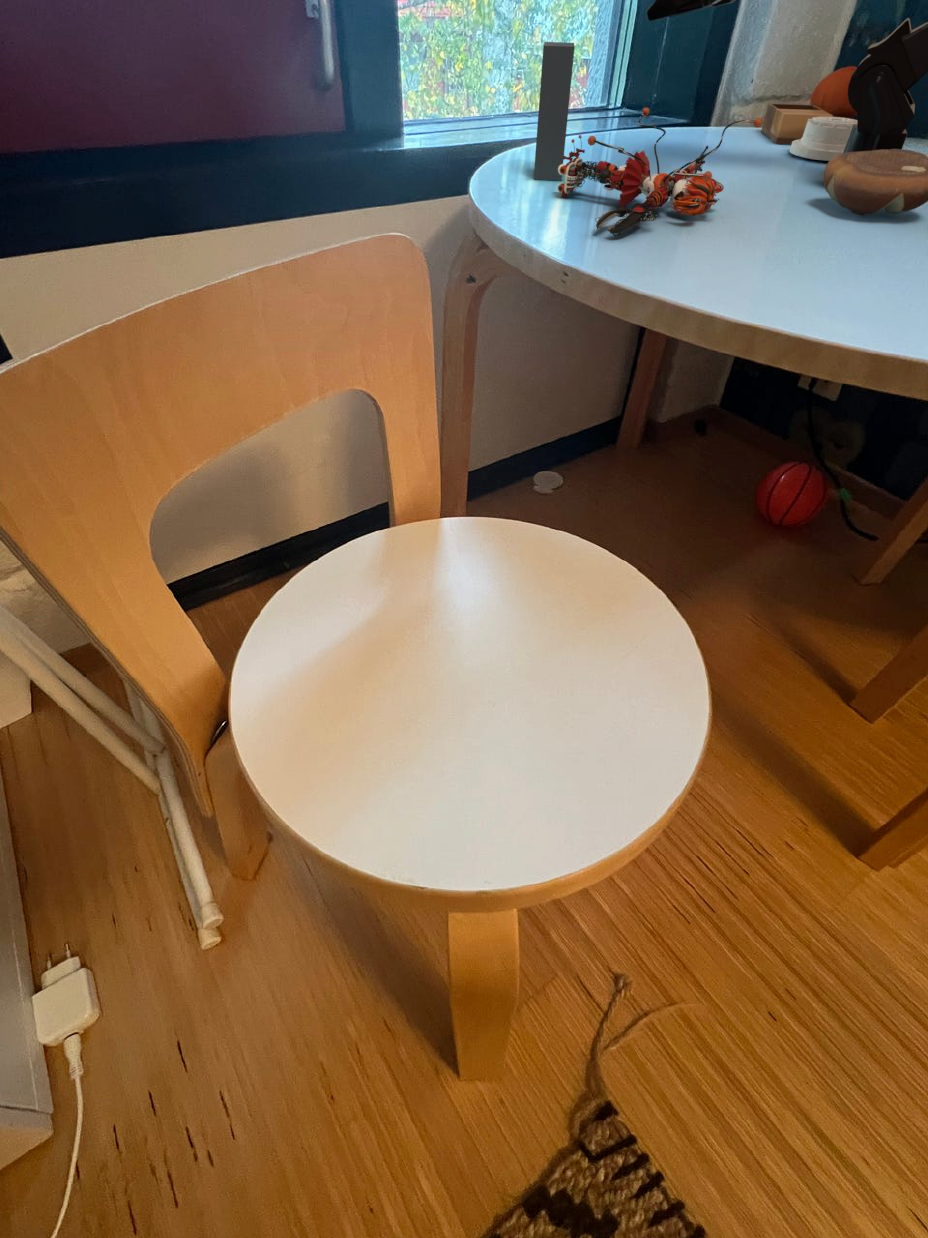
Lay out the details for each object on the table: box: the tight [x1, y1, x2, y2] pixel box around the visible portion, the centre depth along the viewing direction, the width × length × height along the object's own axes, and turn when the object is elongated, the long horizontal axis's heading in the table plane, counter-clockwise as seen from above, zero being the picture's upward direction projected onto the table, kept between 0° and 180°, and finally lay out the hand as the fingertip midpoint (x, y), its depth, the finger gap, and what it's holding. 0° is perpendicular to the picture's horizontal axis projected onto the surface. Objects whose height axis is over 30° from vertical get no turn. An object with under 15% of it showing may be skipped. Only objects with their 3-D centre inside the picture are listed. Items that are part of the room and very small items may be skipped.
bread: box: [822, 148, 928, 216], centre depth 76 cm, size 11×11×5 cm
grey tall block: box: [533, 41, 575, 182], centre depth 84 cm, size 4×5×13 cm
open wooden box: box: [760, 102, 833, 145], centre depth 109 cm, size 11×7×4 cm
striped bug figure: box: [557, 107, 763, 237], centre depth 74 cm, size 25×9×20 cm
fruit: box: [809, 65, 858, 119], centre depth 118 cm, size 9×9×8 cm
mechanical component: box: [789, 117, 857, 162], centre depth 98 cm, size 10×4×10 cm
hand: (657, 14), depth 84 cm, fingers open, 9 cm apart
